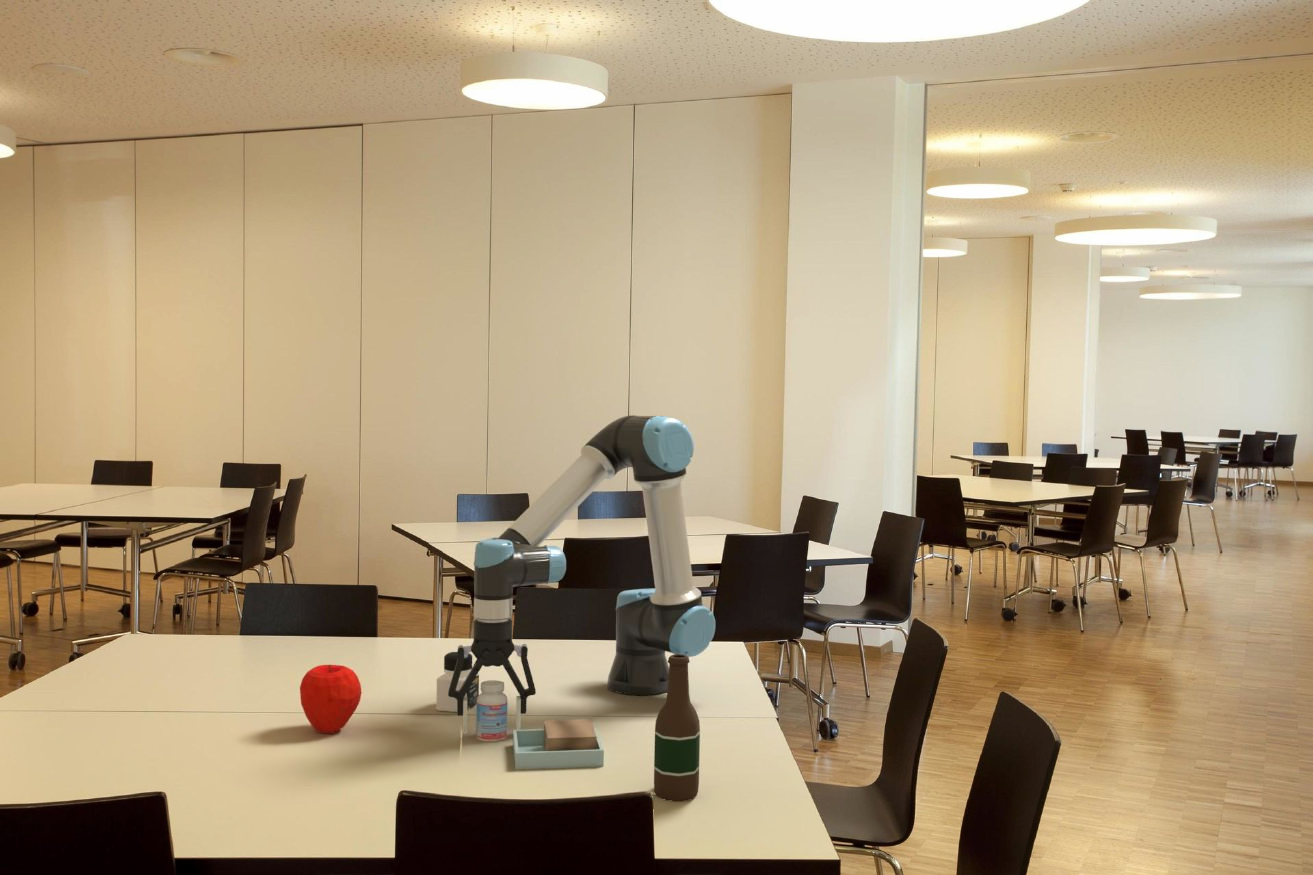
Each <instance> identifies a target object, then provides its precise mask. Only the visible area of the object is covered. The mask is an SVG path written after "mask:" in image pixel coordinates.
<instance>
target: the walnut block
mask: <svg viewBox="0 0 1313 875" xmlns="http://www.w3.org/2000/svg"><path fill="white" fill-rule="evenodd" d="M594 728H595V727H594V725H593V723H592V720H591V718H590V719H586V718H585V719H562V720H559V719H555V720H551V719H550V720H543V729H544V751H568V750H596V741H597V736H596V734H595V731H594Z"/></svg>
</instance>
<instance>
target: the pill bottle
mask: <svg viewBox="0 0 1313 875" xmlns="http://www.w3.org/2000/svg"><path fill="white" fill-rule="evenodd" d="M479 690H480V691H481V693H479V696H478V697H477V706H476V715H475V716H476V719H475V720H476V722H475V724H476V725H475V727H476V729H475V737H476V739H477V740H479V741H483V742H496V741H497V742H498V741H502V740H504V739H506V738H507V736H508V696H507V695H506V694H505V693H504V690H505V682H504V681H502V680H498V679H497V680H494V679H492V680H491V679H490V680H485V681H482V682H480V687H479Z"/></svg>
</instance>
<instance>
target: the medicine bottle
mask: <svg viewBox="0 0 1313 875" xmlns="http://www.w3.org/2000/svg"><path fill="white" fill-rule="evenodd" d="M457 660H458V650H457V651H450V652H448V653H446V654H445V655H444V657H443V674H441V675H440V676H438V677H437V678H436V704H435V705H436V706H435V709H436V711H439V712H447V713H448V712H449V713H457V699H456V698H453V697H449V696H448V691H449V687H450V684H451V680H452V677H453V673H454V670H455V666H456V663H457ZM472 667H473V655H472V653H471V652H470V653H469V654H468V657H466V658H464V663H463V667H462V670H461V674H460V677H459V680H458V684H457V687H456V690H458V691H459V690H460V688H461V687H462V685H463V683H464V681H465V680H466V678H467V676H468V674H469V673H470V671H471V669H472ZM479 690H480V673H479V672H478V674H477V676H476V677H475V679H474V681H473V682H472V684H471V686H470V688H469V689H468V691H467V693H466V695H465V696H464V697H467V713H469V712H470V711H471V710H473V709H474V708H476V707H477V697H478V696H479V695H480V692H479Z"/></svg>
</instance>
